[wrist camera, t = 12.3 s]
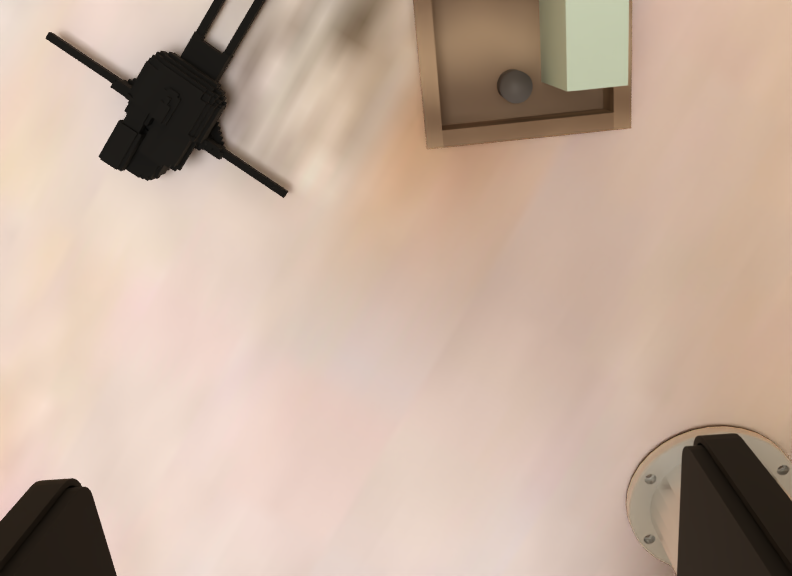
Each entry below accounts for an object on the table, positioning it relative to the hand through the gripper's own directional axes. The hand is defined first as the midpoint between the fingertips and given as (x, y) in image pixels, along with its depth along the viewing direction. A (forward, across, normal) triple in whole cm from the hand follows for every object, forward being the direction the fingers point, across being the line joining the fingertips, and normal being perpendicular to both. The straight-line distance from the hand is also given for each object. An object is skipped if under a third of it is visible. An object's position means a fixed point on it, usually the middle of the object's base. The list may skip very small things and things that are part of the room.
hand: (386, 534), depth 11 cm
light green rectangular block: (+35, -10, -9) cm, 38 cm away
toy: (+37, +13, -7) cm, 39 cm away
